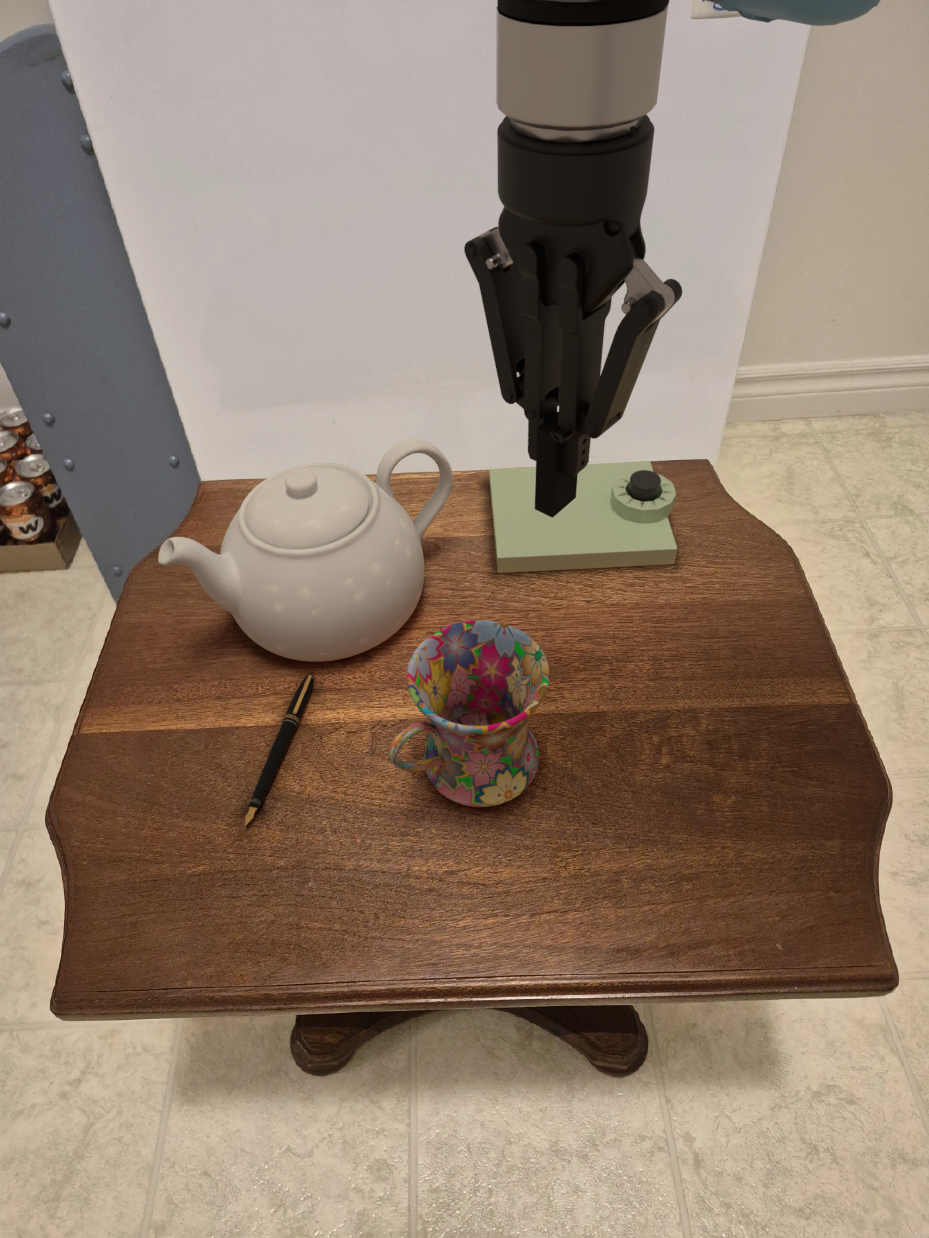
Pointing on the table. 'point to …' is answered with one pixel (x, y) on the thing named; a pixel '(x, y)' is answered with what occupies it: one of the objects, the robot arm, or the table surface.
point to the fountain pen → (280, 744)
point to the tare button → (644, 485)
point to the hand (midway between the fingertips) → (555, 503)
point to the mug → (476, 710)
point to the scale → (581, 522)
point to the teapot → (320, 558)
